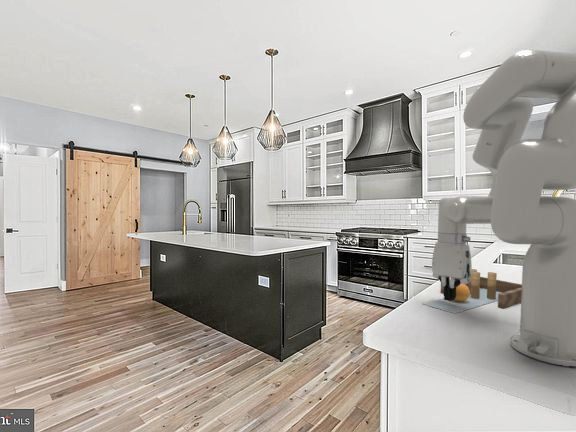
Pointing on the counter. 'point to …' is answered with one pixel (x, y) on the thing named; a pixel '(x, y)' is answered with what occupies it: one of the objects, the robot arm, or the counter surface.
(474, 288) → the pin front
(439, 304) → the lane
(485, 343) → the counter surface
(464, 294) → the ball
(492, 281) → the pin right
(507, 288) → the fence
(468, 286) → the pin left
